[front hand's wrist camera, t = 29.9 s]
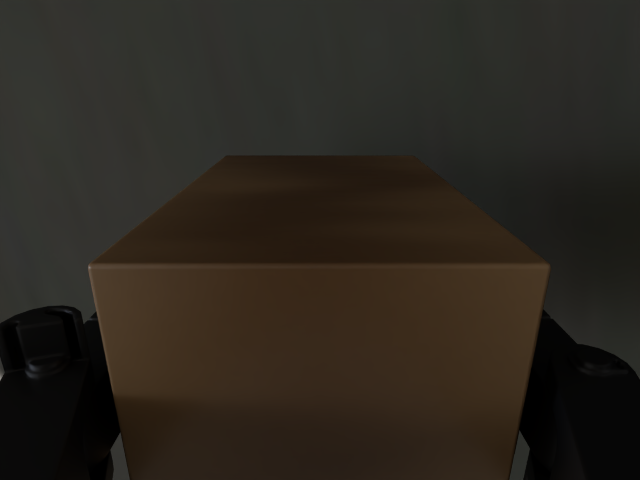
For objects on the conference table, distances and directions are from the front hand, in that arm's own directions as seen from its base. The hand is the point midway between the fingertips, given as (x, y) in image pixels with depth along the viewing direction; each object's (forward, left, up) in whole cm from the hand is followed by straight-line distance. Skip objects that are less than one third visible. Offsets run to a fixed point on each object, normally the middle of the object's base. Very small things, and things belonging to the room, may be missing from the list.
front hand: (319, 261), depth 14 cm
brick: (0, 0, -1) cm, 1 cm away
